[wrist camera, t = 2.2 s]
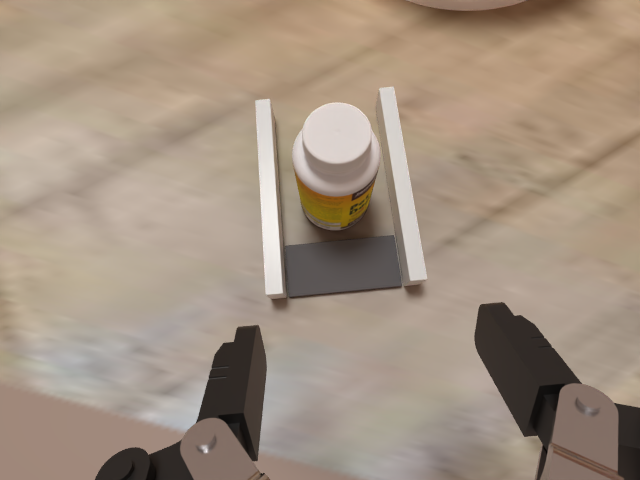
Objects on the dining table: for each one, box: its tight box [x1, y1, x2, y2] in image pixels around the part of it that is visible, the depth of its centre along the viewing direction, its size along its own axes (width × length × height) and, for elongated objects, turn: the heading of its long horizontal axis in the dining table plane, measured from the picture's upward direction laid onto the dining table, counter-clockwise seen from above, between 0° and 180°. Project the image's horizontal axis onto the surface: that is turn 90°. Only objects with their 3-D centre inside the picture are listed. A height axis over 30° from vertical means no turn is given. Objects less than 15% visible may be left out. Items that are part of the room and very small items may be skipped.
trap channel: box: [255, 87, 427, 299], centre depth 30 cm, size 16×11×2 cm
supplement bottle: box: [292, 103, 381, 230], centre depth 26 cm, size 6×6×10 cm
